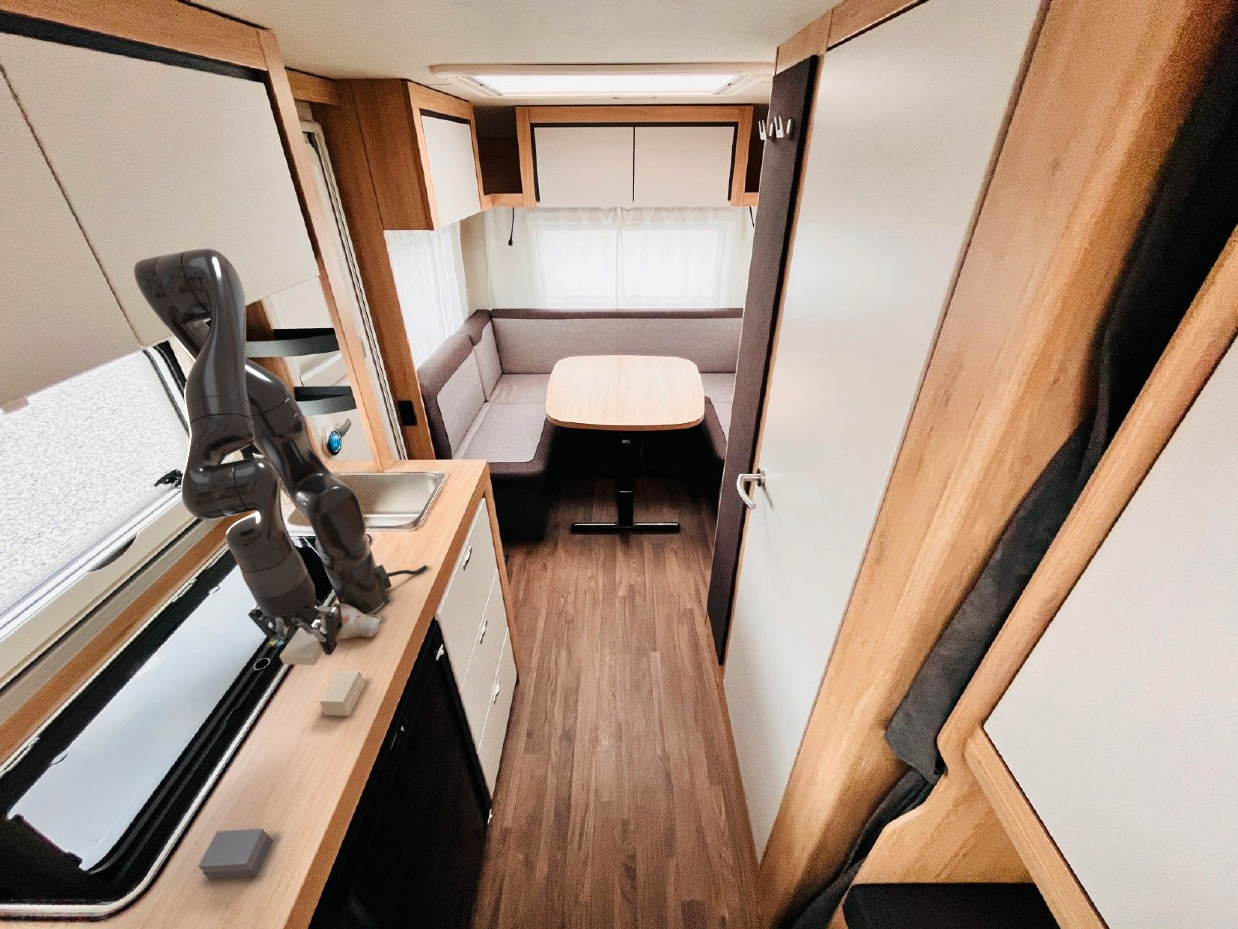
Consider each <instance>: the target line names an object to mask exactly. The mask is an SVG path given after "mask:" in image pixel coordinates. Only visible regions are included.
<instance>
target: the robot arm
mask: <svg viewBox="0 0 1238 929" xmlns="http://www.w3.org/2000/svg"><path fill="white" fill-rule="evenodd" d="M133 275H134V279H135V282H136V286H137V287H138V289H139V291H140V293H141V295H142V297H143V298H144V300H145V301H146V303H147V304H148V305H149V307H150V308H151V310H152V311H153V312H154V314H155V315H156V316H157V317H158V319H159V320H160V321H161V322H162V324H163V325H164V327H166V328H167V330H168V331H169V332H170V333H171V334H172V336H173V337H174V338H175V339H176V341H177V342H178V343H179V344H180V345H181V346H182V347H183V349H184V350H185V351H186V353H188V354H189V356H190V357H191V358H192V360H193V361H194V363H193V365H192V367H191V369H190V371H189V373H188V376H187V379H186V382H185V386H184V404H185V410H186V417H187V422H188V429H189V444H188V452H187V457H186V462H185V467H184V470H183V474H182V478H181V479H182V480H181V484H180V485H181V486H180V493H181V494H180V495H181V500H182V503H183V505H184V507H185V509H186V510H187V511H188V512H189V513H190V514H191V515H192V516H194V518H197V519H199V520H202V521H215V520H219V519H224V518H228V517H232V516H237V515H242V514H246V513H251V512H254V511H256V512H254V513H252V514H250V515H247V516H245V517H243V518H241V519H240V520H237V521H236V522H235V523H233V524H232V525H231V526H230V527H229V528H228V529H227V530H226V532H225V542H226V545H227V547H228V549H229V551H230V552H231V554H232V555H233V558H234V559H235V561H236V563H237V565H238V567H239V569H240V572H241V575H242V578H243V580H244V582H245V584H246V586H247V588H248V589H249V590H248V591H250V594H251V595H252V597H253V599H254V601H255V603H256V604H255V605H254V606H253V608H251V610H250V611H249V612H248V614H247V615H248V617H249V618H250V619H251V620H252V621H253V623H254V624H255V625H256V626H257V627H258V629H260V630H261V632H262V633H263V634H264V635H265V636H266V637H267V638H270V639H272V638H274V637H277V639H278V640H279V641H282V642H283V643H284V644H283V645H284V646H285V647H286V646H287V645H288V643H289V642H290V640H291V639H292V638H293V636H294V635H295V633H296V632H297V630H298V629H294V628H302V629H303V630H304V631H305V632H306V633H307V634H309V635H312V634H313V635H314V636H315V637H316V638H317V639H318V640H319V643H320V644H321V646H322V648H323V650H324V651H323V654H324V656H331V655H332V654H333V653H334V652H335V650H336V649H337V647H338V645H339V643H338V641H337V639H336V637H337V635H338V634H339V632H340V630H341V629H342V627H343V623H342V615H341V606H340V605H339V604H347V605H350V606H352V607H354V608H356V609H357V610H358V611H360V612H361V613H363V614H370V615H375V614H377V612H379V611H380V610H381V609H382V608H383V607H384V606H385V605H387V604H388V603H390V598H389V595H388V592H387V589H389V588H392V587H393V585H392V583H391V579H390V577H394V576H398V575H411V576H413V575H414V576H415V575H418V574H420V573H422V572H424V571H425V570H427V569H428V566H427V564H425V565H423V566H421V567H420V568H419V569H416V570H410V569H401V570H397V571H391V572H388V573H387V571H386V569H385V567H384V565H383V564H380V565H377V564H376V560H375V557H374V555H373V552H372V549H371V546H370V543H369V540H368V537H367V534H366V533H367V524H366V521H365V517H364V513H363V510H362V507H361V504H360V501H359V499H358V497H357V494H356V493H355V491H354V490H353V489H352V488H351V487H350V486H348V485H347V484H346V483H344V482H343V481H342V480H340V479H339V478H338V477H336V476H335V474H333V473H332V472H331V471H330V470H329V468H327V466H326V465H325V463H324V462H323V461H322V459H321V458H320V457H319V455H318V454H317V453H316V450H315V449H314V447H313V444H312V442H311V438H310V433H309V428H308V424H307V420H306V418H305V416H304V413H303V412H302V410H301V407H300V406H299V404H298V402H297V401H296V399H295V397H294V396H293V394H292V393H291V391H290V389H289V387H288V386H287V384H286V383H285V382H284V381H283V380H282V379H281V378H280V377H278V376H277V375H276V374H274V373H273V372H272V371H270V370H269V369H266V368H265V367H263V366H261V365H260V364H258V363H256V362H255V361H253V360H251V359H249V358H247V357H246V355H247V354H246V352H247V351H246V350H247V309H246V308H247V307H246V295H245V291H244V287H243V283H242V281H241V278H240V276H239V273H238V272H237V270H236V269H235V267H234V266H233V264H232V263H231V262H230V260H229V259H228V258H227V257H226V256H225V255H224V254H222V253H221V252H220V251H218V250H216V249H212V248H201V249H200V248H199V249H191V250H186V251H180V252H175V253H173V252H172V253H169V254H163V255H156V256H151V257H147V258H143V259H140V260H138V261H136V263H135V264H134V267H133ZM205 320H209V325H208V324H207V323H206V322H205ZM252 444H253V446H254V447H255V448H256V449H257V450H258V451H259V453H260V454H261V455H262V456H264V458H265V459H264V458H262V457H250V458H243V459H239V460H234V461H228V462H224V463H223V461H224V459H226V458H227V457H228V456H230V455H231V454H233V453H236V452H238V451H241V450H243V449H246V448H247V447H249V446H251V445H252ZM281 482H282V485H283V486H284V488H285V490H286V492H287V494H288V496H289V498H290V500H291V502H292V504H293V506H294V507H295V509H296V510H297V511H298V512H299V513H300V514H301V515H302V516H303V517H304V518H305V519H306V520H308V522H309V524H310V526H311V528H312V530H313V533H314V535H315V542H314V546H315V549H316V551H317V554H318V556H319V558H320V561H321V563H322V565H323V568H324V570H325V573H326V575H327V577H328V580H329V582H330V585H331V587H332V589H333V592H334V596H335V597H336V600H337V602H338V603H333V604H332V605H331V607H330V606H327V605H323V603H322V602H321V601H320V600H318V599H317V598H316V587H315V583H314V581H313V579H312V577H311V574H310V573H309V569H308V568H307V566H306V563H305V562H304V559H303V558H302V555H301V553H300V551H298V549H297V548H296V546H295V545H294V542H293V540H292V538H291V536H290V533H289V530H288V529H287V526H286V524H285V520H284V517H283V509H282V499H281V497H282V494H281V492H282V490H281V489H282V488H281V487H282V486H281ZM315 619H316V621H315ZM314 621H315V622H314ZM313 622H314V624H313V625H312V626H311V624H312V623H313ZM269 624H271V627H270V625H269ZM321 627H322V628H323V629H324V630H323V632H321V631H320V628H321Z"/></svg>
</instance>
